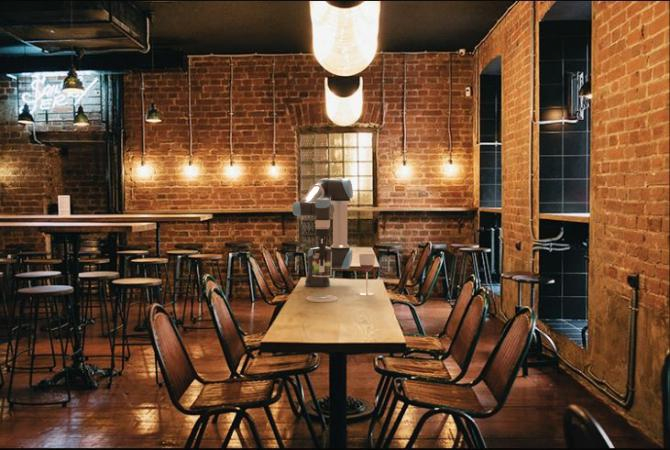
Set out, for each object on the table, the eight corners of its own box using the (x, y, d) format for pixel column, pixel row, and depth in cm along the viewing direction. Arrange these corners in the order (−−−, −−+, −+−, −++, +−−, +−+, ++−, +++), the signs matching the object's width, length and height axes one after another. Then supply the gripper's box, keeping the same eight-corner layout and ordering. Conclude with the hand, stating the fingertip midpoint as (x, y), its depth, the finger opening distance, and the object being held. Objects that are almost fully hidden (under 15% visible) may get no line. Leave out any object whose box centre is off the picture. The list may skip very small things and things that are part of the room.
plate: (307, 296, 321) (307, 294, 321) (337, 297, 321) (337, 294, 321) (305, 302, 305) (305, 299, 305) (336, 302, 305) (336, 299, 305)
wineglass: (374, 292, 337) (375, 253, 336) (374, 295, 327) (374, 255, 326) (359, 292, 338) (359, 253, 337) (358, 295, 328) (358, 255, 327)
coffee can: (326, 277, 305) (326, 250, 305) (308, 276, 310) (308, 249, 310) (335, 275, 315) (335, 248, 314) (318, 274, 319) (318, 247, 319)
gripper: (316, 227, 323) (316, 268, 324) (314, 229, 300) (313, 273, 301) (330, 227, 322) (330, 268, 323) (329, 229, 300) (328, 273, 301)
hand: (322, 270), depth 312 cm, fingers closed on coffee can, 10 cm apart
